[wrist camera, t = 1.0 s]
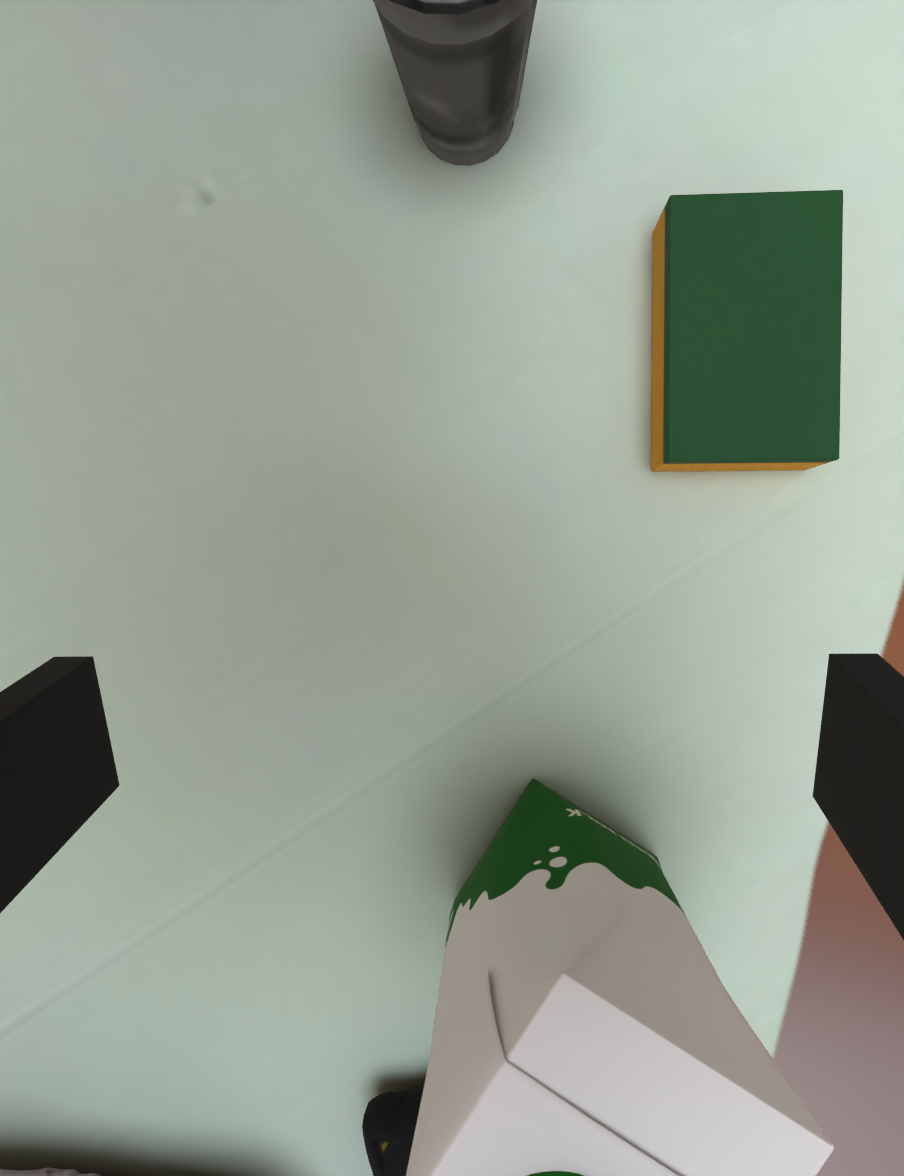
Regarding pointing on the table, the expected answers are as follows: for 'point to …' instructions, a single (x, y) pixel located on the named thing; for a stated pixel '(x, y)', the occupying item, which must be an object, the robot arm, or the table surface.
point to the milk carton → (593, 1024)
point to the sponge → (747, 331)
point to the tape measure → (391, 1130)
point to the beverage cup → (460, 69)
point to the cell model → (44, 1172)
